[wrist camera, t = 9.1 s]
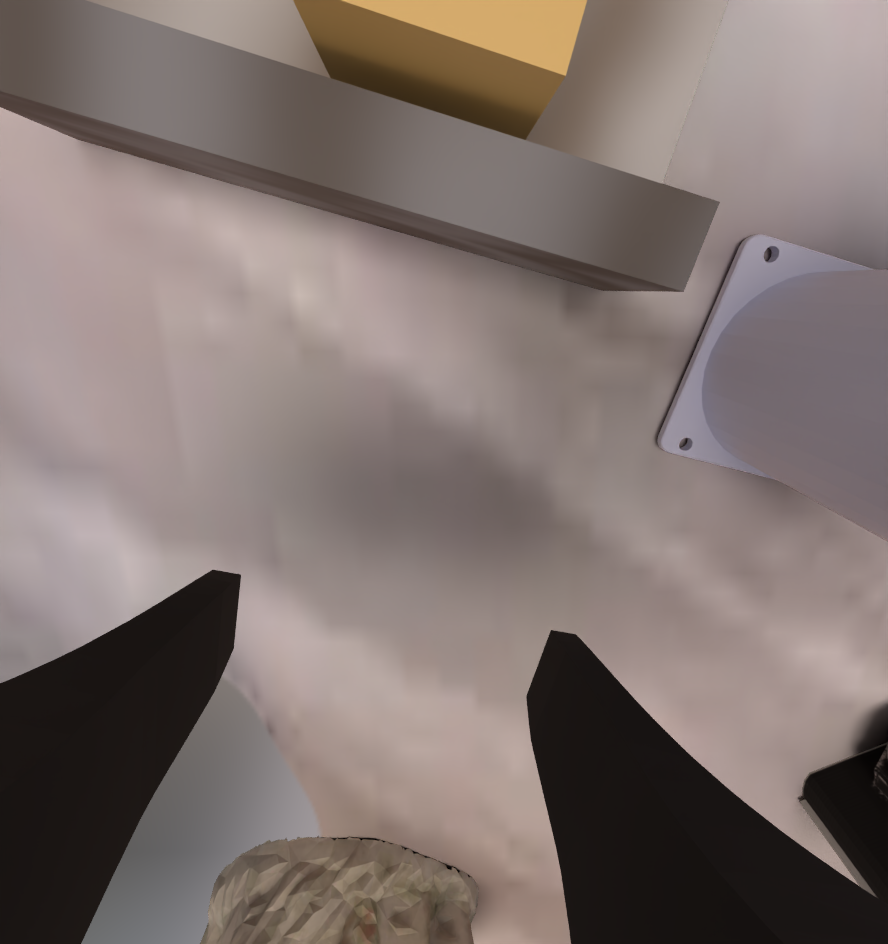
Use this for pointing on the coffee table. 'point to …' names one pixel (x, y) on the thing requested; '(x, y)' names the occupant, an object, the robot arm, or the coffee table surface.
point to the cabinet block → (451, 53)
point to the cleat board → (389, 127)
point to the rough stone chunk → (339, 896)
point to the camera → (854, 814)
